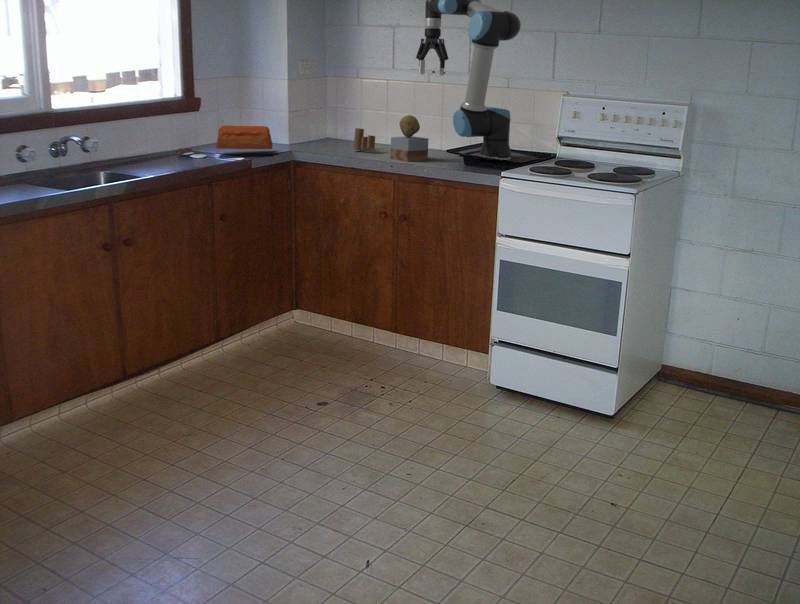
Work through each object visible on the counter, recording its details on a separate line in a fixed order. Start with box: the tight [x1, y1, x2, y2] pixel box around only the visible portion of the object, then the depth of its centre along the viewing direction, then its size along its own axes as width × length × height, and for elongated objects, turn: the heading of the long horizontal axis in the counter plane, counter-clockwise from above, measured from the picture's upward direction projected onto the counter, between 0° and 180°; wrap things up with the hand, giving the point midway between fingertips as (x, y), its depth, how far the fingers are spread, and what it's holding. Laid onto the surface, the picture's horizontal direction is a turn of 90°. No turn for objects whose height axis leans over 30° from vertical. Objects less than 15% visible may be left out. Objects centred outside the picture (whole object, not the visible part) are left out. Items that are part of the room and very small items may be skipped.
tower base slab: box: [390, 148, 429, 163], centre depth 399 cm, size 12×12×5 cm
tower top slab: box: [390, 135, 429, 151], centre depth 397 cm, size 12×12×5 cm
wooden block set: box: [353, 127, 376, 151], centre depth 429 cm, size 18×9×10 cm, turn 20°
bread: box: [215, 125, 273, 150], centre depth 428 cm, size 16×27×11 cm, turn 97°
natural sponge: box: [399, 114, 421, 138], centre depth 395 cm, size 9×9×10 cm
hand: (431, 74), depth 417 cm, fingers open, 13 cm apart
